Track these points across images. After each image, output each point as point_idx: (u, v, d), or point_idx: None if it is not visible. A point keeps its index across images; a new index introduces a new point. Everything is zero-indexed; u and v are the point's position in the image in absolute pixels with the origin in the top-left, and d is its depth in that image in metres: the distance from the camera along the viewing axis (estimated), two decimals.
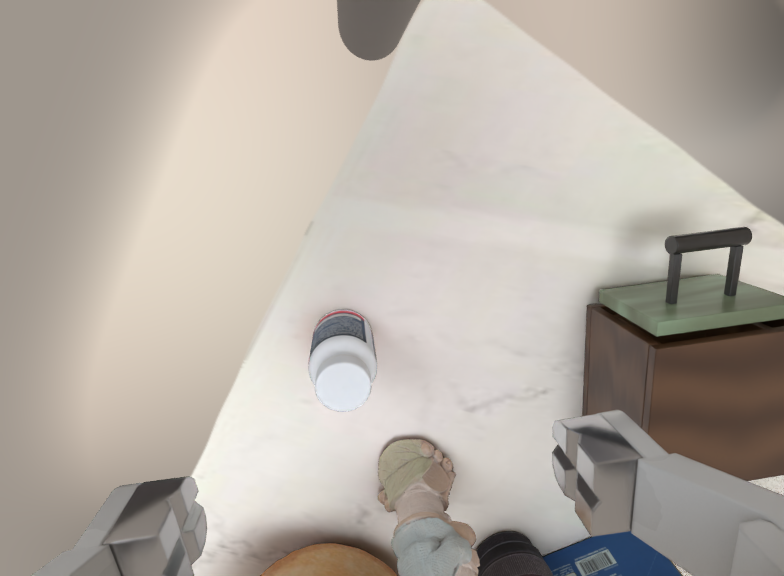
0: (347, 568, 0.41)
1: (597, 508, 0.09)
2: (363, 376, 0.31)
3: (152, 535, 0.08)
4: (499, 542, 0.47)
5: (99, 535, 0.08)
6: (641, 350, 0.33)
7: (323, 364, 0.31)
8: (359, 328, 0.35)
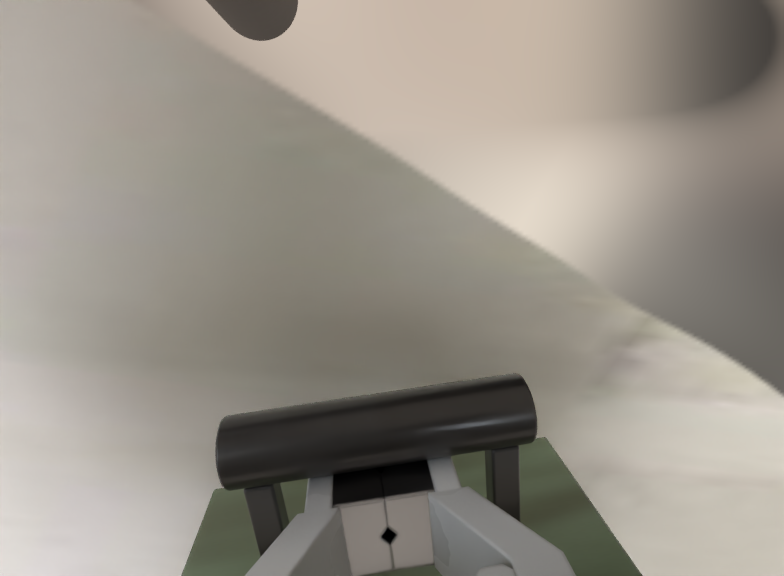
0: None
1: (394, 542, 0.08)
2: None
3: (376, 499, 0.08)
4: None
5: (324, 499, 0.08)
6: None
7: None
8: None
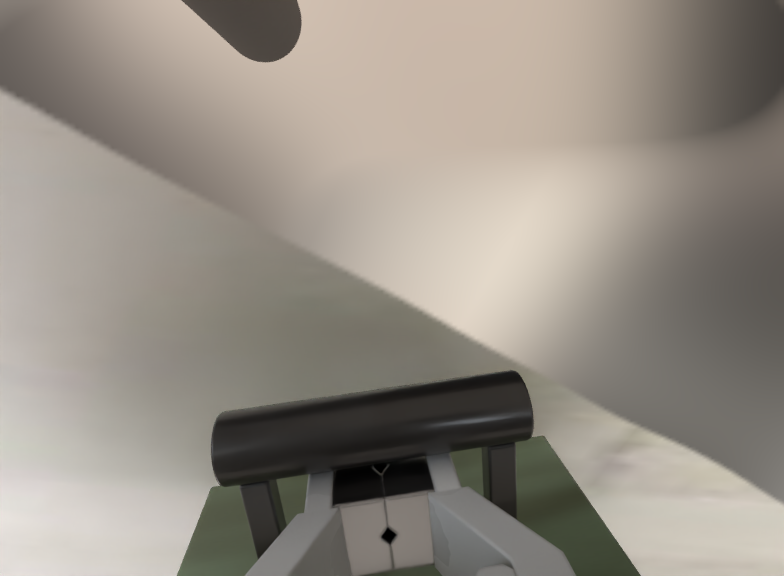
0: None
1: (394, 542, 0.08)
2: None
3: (376, 499, 0.08)
4: None
5: (324, 499, 0.08)
6: None
7: None
8: None
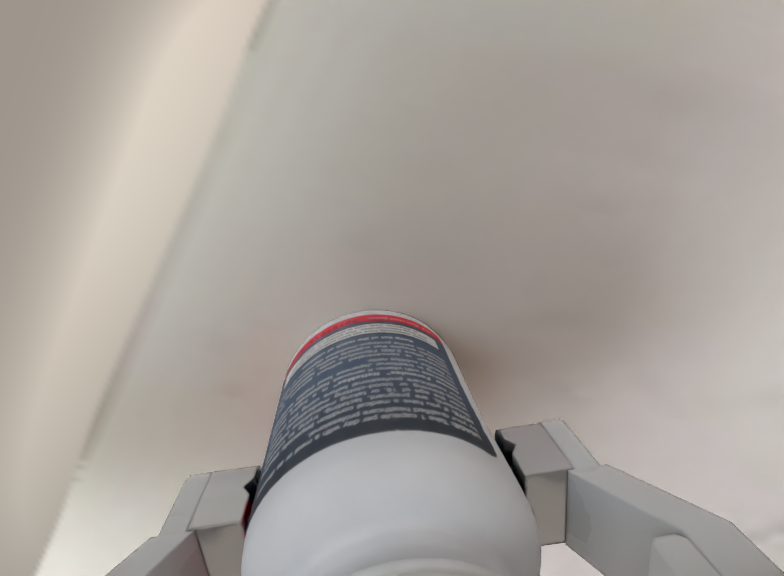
0: None
1: None
2: None
3: (235, 522, 0.08)
4: None
5: (182, 522, 0.08)
6: None
7: None
8: (447, 383, 0.09)
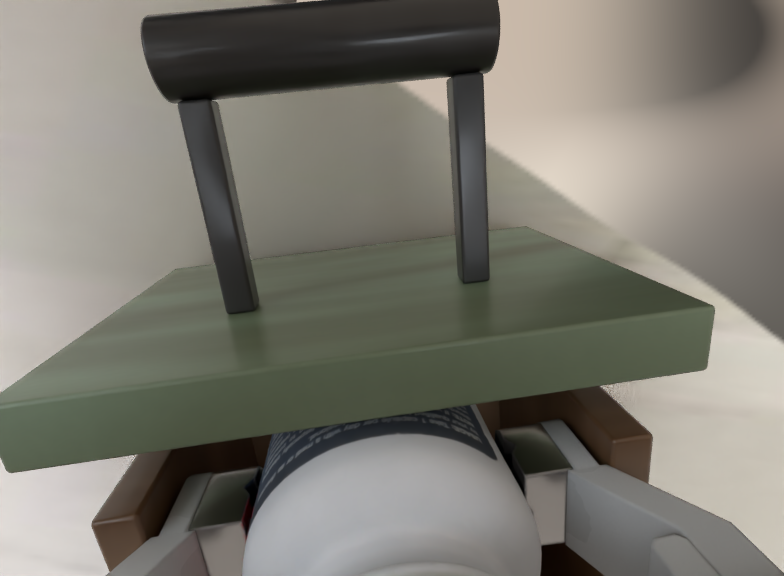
0: None
1: None
2: None
3: (235, 522, 0.08)
4: None
5: (183, 522, 0.08)
6: None
7: None
8: None
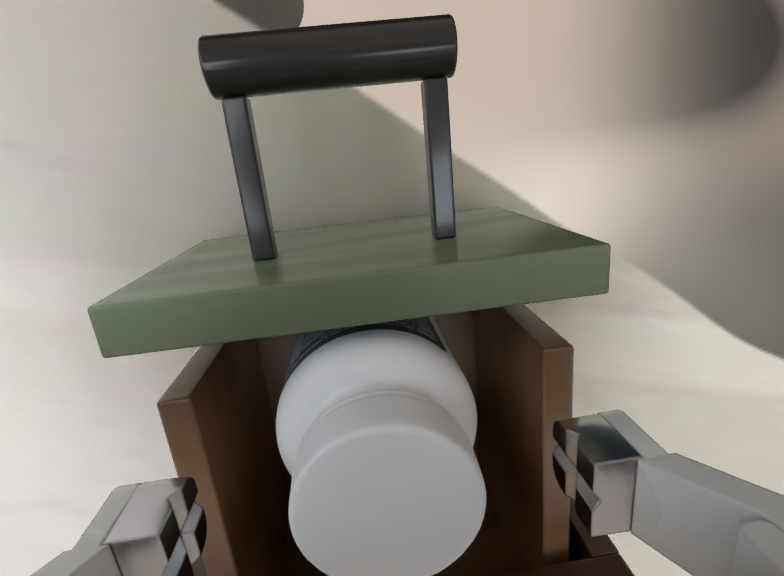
0: None
1: (597, 508, 0.09)
2: (461, 475, 0.09)
3: (152, 535, 0.08)
4: None
5: (99, 535, 0.08)
6: None
7: (319, 428, 0.09)
8: None
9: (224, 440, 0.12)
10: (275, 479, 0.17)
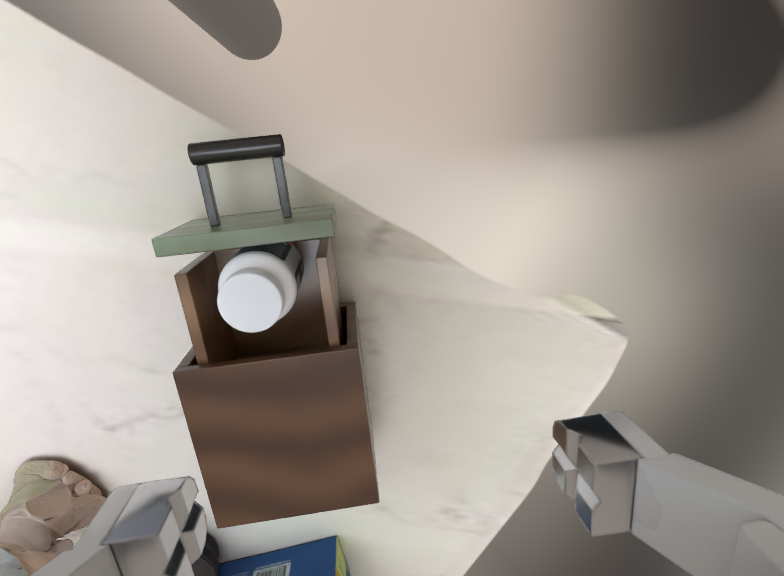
0: None
1: (597, 508, 0.09)
2: (272, 291, 0.27)
3: (152, 535, 0.08)
4: None
5: (99, 535, 0.08)
6: None
7: (228, 277, 0.27)
8: (280, 249, 0.31)
9: (199, 296, 0.30)
10: (227, 334, 0.35)
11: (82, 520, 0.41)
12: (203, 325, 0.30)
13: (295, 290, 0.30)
